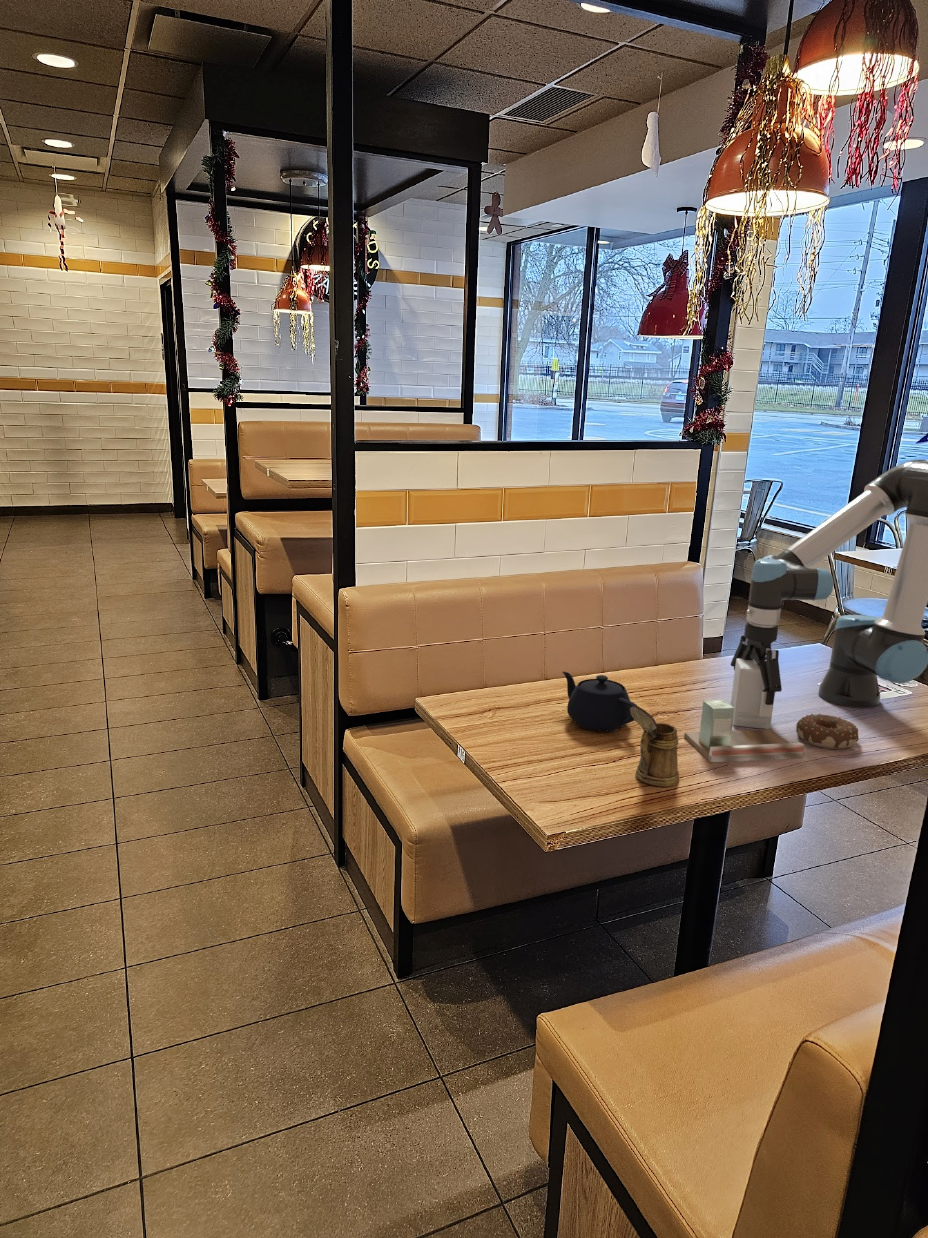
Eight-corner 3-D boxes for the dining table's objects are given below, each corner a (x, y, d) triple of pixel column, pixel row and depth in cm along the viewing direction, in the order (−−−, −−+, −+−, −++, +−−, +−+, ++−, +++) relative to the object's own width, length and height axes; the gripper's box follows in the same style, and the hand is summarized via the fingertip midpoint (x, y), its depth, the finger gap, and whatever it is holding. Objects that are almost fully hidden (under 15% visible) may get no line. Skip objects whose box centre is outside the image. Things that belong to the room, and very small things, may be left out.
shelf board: (769, 733, 200) (771, 721, 199) (803, 758, 187) (805, 745, 186) (684, 737, 196) (685, 724, 195) (711, 763, 183) (713, 749, 182)
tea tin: (719, 740, 192) (723, 700, 189) (729, 750, 187) (734, 708, 184) (698, 741, 191) (703, 700, 188) (708, 751, 186) (713, 709, 183)
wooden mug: (611, 780, 173) (618, 699, 168) (654, 765, 181) (661, 686, 176) (645, 797, 166) (653, 712, 161) (687, 780, 174) (696, 699, 169)
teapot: (656, 732, 199) (661, 684, 196) (612, 747, 190) (616, 696, 186) (581, 701, 218) (585, 656, 215) (537, 713, 209) (540, 666, 205)
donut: (859, 756, 189) (863, 736, 188) (795, 746, 194) (798, 726, 192) (854, 734, 202) (857, 714, 201) (794, 725, 207) (797, 706, 205)
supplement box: (771, 730, 202) (779, 671, 199) (732, 726, 204) (739, 668, 200) (765, 716, 211) (773, 660, 207) (729, 713, 213) (735, 657, 209)
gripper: (723, 610, 212) (713, 689, 218) (775, 638, 189) (762, 725, 194) (750, 610, 214) (740, 688, 219) (805, 637, 190) (792, 724, 195)
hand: (751, 706), depth 206 cm, fingers open, 13 cm apart
